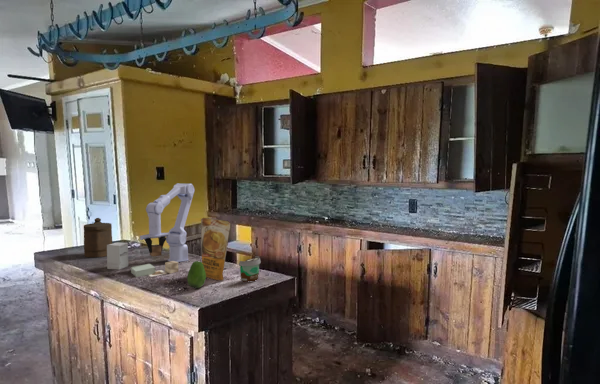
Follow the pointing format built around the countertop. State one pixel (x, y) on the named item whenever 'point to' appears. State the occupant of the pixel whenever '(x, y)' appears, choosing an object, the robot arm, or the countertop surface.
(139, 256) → the countertop surface
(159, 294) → the countertop surface
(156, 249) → the walnut block
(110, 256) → the supplement box
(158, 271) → the card
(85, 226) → the wooden container
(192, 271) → the avocado
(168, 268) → the beech block
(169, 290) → the countertop surface
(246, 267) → the food container
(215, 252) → the pancake mix bag
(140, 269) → the plinth
